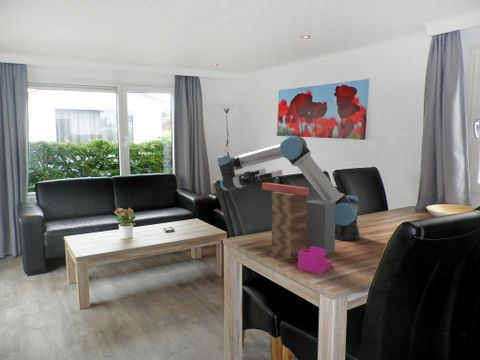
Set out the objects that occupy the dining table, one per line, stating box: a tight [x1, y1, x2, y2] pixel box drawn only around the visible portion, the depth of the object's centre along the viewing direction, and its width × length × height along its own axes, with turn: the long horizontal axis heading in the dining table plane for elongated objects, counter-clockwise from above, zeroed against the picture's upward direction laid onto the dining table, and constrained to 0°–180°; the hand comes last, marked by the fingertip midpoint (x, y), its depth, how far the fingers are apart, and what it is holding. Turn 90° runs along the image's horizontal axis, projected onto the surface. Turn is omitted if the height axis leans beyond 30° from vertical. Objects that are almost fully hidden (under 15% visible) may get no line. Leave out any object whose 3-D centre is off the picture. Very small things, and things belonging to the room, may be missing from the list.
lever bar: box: [261, 181, 310, 196], centre depth 180 cm, size 26×3×3 cm, turn 41°
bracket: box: [297, 246, 333, 275], centre depth 167 cm, size 12×10×10 cm
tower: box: [268, 191, 308, 264], centre depth 180 cm, size 14×12×30 cm
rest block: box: [306, 199, 336, 256], centre depth 188 cm, size 12×8×24 cm, turn 41°
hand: (273, 171), depth 198 cm, fingers open, 13 cm apart
